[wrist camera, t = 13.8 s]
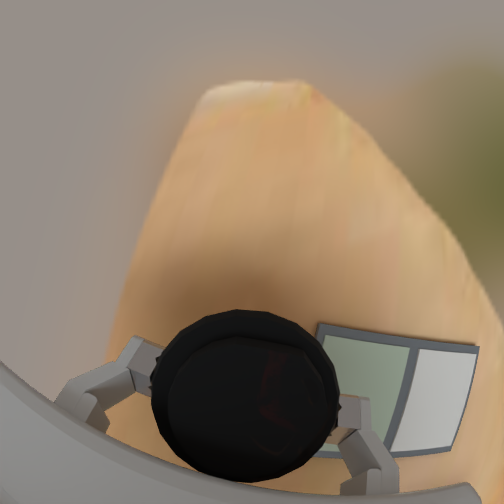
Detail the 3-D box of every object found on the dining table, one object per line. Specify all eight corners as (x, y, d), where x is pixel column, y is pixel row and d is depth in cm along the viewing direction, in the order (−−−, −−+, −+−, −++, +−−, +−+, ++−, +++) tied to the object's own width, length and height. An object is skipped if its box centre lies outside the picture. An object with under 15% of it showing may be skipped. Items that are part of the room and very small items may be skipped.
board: (446, 448, 22) (451, 451, 21) (284, 449, 24) (285, 455, 22) (474, 346, 26) (481, 346, 24) (317, 323, 27) (320, 323, 26)
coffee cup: (220, 428, 16) (191, 515, 6) (179, 336, 18) (104, 349, 8) (317, 391, 17) (377, 452, 7) (277, 297, 18) (304, 271, 9)
